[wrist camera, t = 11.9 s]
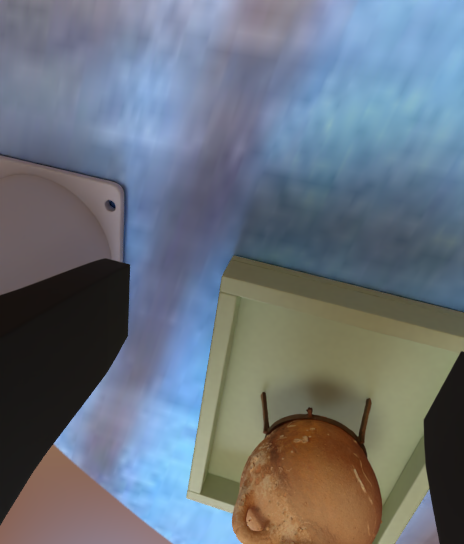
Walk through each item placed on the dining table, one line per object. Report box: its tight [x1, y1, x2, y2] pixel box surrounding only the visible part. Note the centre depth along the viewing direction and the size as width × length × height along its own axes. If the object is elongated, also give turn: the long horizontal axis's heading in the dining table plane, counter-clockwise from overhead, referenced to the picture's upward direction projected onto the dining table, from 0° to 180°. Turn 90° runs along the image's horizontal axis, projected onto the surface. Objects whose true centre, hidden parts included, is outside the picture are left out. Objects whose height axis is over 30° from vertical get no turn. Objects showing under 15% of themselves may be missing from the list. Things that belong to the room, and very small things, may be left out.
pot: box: [232, 392, 382, 544], centre depth 19 cm, size 6×8×6 cm
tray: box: [186, 255, 464, 544], centre depth 22 cm, size 16×12×2 cm
